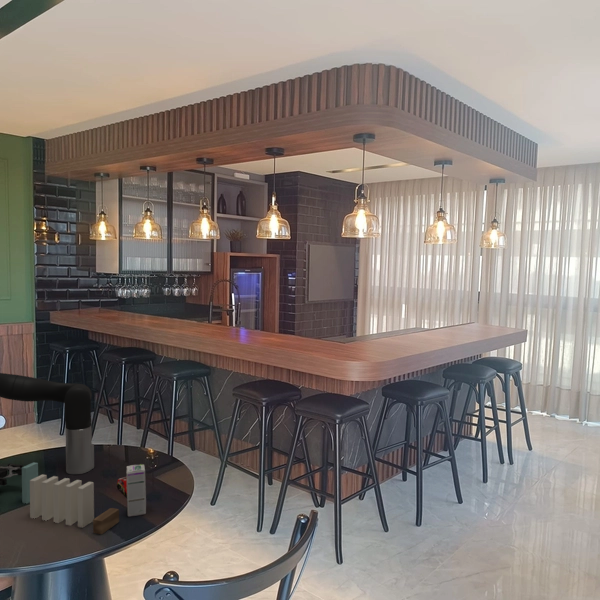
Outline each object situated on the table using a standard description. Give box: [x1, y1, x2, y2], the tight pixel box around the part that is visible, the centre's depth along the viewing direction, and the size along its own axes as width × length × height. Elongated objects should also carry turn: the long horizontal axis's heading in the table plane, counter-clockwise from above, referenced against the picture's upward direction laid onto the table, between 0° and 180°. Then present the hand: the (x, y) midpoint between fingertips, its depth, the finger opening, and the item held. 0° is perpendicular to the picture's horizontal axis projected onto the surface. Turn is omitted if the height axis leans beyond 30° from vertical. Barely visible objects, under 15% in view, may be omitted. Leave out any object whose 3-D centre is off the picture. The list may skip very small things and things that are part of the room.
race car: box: [116, 476, 127, 498], centre depth 179 cm, size 13×5×4 cm, turn 36°
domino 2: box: [29, 473, 48, 520], centre depth 160 cm, size 2×5×12 cm, turn 163°
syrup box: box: [125, 463, 147, 517], centre depth 162 cm, size 6×6×14 cm
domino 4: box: [53, 477, 71, 524], centre depth 157 cm, size 2×5×12 cm, turn 163°
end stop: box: [92, 507, 120, 535], centre depth 152 cm, size 3×8×4 cm, turn 163°
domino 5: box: [65, 479, 83, 526], centre depth 156 cm, size 2×5×12 cm, turn 163°
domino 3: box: [41, 475, 59, 522], centre depth 158 cm, size 2×5×12 cm, turn 163°
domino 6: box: [77, 481, 95, 528], centre depth 154 cm, size 2×5×12 cm, turn 163°
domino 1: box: [21, 461, 39, 505], centre depth 170 cm, size 2×5×12 cm, turn 163°
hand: (16, 477), depth 172 cm, fingers open, 8 cm apart
